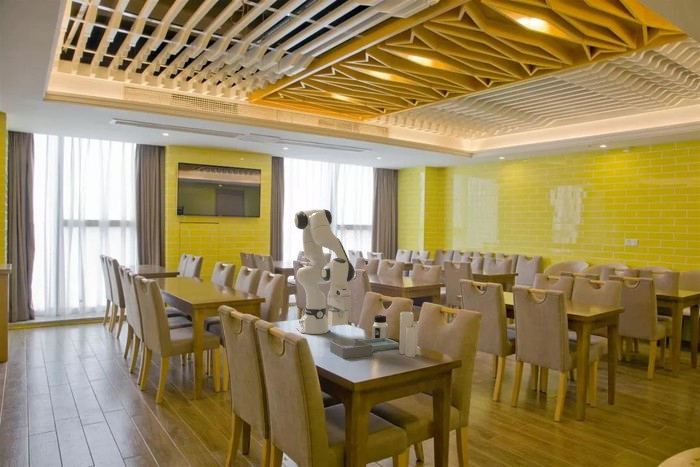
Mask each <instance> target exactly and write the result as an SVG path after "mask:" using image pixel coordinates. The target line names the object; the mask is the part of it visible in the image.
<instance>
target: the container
mask: <svg viewBox="0 0 700 467" xmlns="http://www.w3.org/2000/svg"><path fill="white" fill-rule="evenodd" d="M373 320H374V323H373V325H372V327H371V330H372V331H371V332H372V333H371V339H375V338H384V337H385V338H387V339H388V336H389V334H388V332H389V330H388V329H389V324H388V323H387V316H386V315H385V314H376V315H375V316H374V319H373Z"/></svg>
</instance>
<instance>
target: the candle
mask: <svg viewBox="0 0 700 467" xmlns="http://www.w3.org/2000/svg"><path fill="white" fill-rule="evenodd" d="M418 331H419V323H418V322H414V312H412V311H401V312H400V313H399V348H398V349H399V351H398V352H399V353H400V354H401V355H405V357H408V358H415V357H416V355H418V341H419V340H418V338H419V337H418V336H419V335H418V333H419V332H418Z"/></svg>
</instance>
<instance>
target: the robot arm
mask: <svg viewBox="0 0 700 467" xmlns="http://www.w3.org/2000/svg"><path fill="white" fill-rule="evenodd" d="M332 222H333V216H332V213H331V211H330V210H329V209H310V210H304V211H303V210H302V211H301V210H300V211H298V212H296V213H295V215H294V224H295V227H296V228H297V229H299V230H302V246H303V255H304V257H305V259H307V260H308V261H309V262H310V263H311V265H307V266H303V267H300V268H298V269H297V271H296V280H297V282H298V283H299V284H300V285H301V286H302V287H303V289H304V291H305V296H306V298H305V299H306V300H305V301H306V306H305V310H304V315H303V316H302V317H301V318H300V320H298V324H299V325H297V326H296V328H295V329H296V330H297V329H298V330H299V331H298V330H297V331H298V332H299V333H300V334H308V335H309V334H310V335H321V334H327V333H328V332H329V331H331V328H329V324H328V315H326V314H327V307H326V303H327V305H328V306H330V307H331V308H337V309H340V314H339V318H343V314H344V311H348V312H349V311H350V310H351V306H352V304H351V303H352V298H351V297H352V295H353V294H352V291H351V289H350V288H349V287H348V282H351V281H352V280H353V278H354V277H355V274H356V271H355V267H354V265H353V264H352V263H351V261H350V259H349V257H348V254H347V253H346V250H345V248H344V246H343V244H342V242H341V240H340V239H339V238H338V237H337V236H336V235H335V234H334V232H333V230H332V229H331V224H332ZM323 248H324V249H325V248H326V249H327V250H331V251H332V252H333V253H335V256H336V258H333V259H332V260H331V261H330V262H328V261H327V259H326V257H325V254H324V251H323V250H324V249H323ZM329 283H330V285H329V286H330V288H329V291H328V292H327V298H326V294H325V293H324V291H322V290H321V289H320V286H319V285H322V284H323V285H324V284H329ZM326 300H327V301H326Z"/></svg>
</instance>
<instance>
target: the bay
mask: <svg viewBox="0 0 700 467" xmlns="http://www.w3.org/2000/svg"><path fill="white" fill-rule="evenodd" d="M354 340H355V341H354V344H355V345H354V346H347V347H345V346H342V345H340V344H338V343H336V342H334V341H330V342H329V344H330V346H329V352H330V353H332V354H334V355H336V356H337V357H339V358H341V359H343V360H347V359H354V358H363V357H370V356H373V351H372V345H370V344H368V343H366V342H364V341H361V340H362V339H359V338H355V339H354Z"/></svg>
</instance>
